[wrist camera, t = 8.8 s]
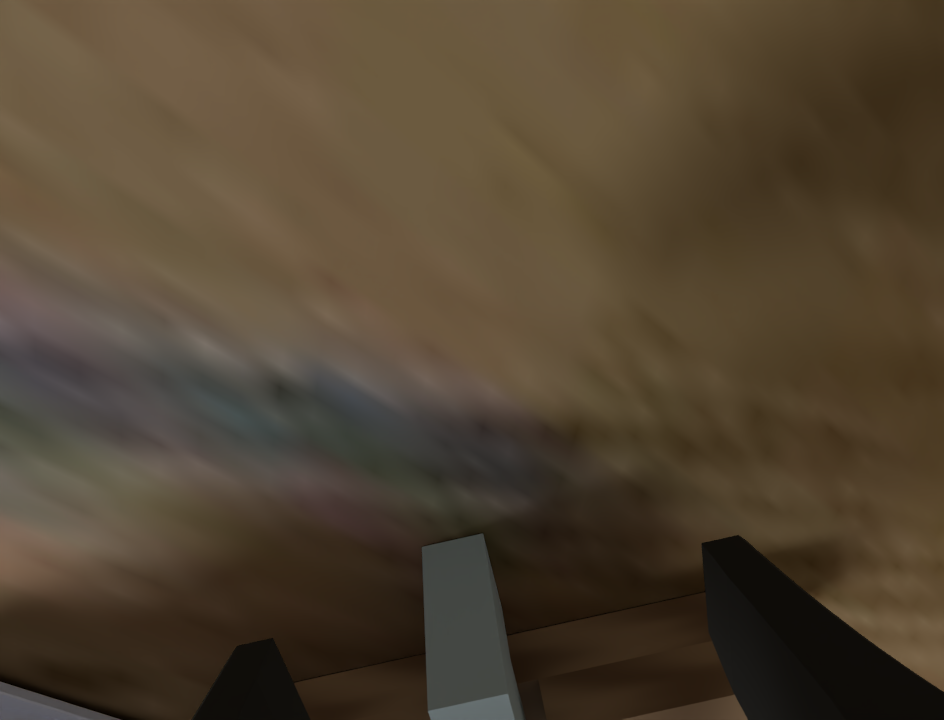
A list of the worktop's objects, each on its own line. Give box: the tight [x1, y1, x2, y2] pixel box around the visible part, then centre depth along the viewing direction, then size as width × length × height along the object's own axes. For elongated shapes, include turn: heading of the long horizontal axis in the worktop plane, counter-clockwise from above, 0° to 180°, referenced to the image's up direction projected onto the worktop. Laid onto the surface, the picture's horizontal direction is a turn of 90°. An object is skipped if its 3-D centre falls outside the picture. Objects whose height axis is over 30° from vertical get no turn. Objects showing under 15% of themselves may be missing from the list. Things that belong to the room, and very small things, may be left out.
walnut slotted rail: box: [294, 592, 748, 720], centre depth 24 cm, size 18×2×4 cm, turn 102°
